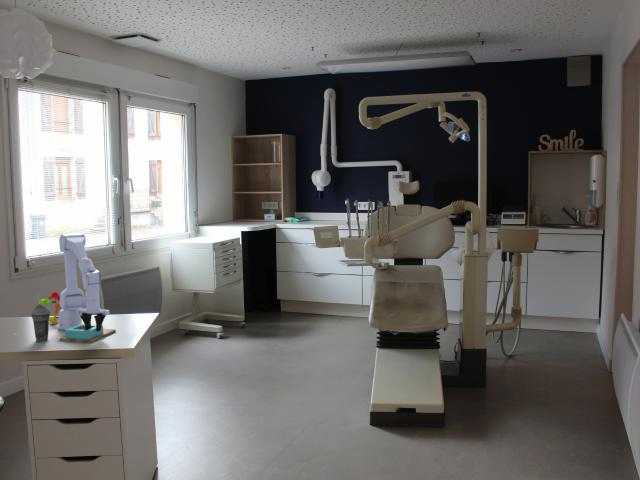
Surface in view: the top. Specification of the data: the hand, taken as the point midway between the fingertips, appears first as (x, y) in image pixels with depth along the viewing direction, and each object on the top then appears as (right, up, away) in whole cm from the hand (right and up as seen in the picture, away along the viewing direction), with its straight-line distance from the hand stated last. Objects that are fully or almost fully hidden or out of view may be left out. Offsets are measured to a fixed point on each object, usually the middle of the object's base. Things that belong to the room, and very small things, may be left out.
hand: (93, 330), depth 273 cm
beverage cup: (-21, -4, -3) cm, 22 cm away
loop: (-4, -2, +1) cm, 5 cm away
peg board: (-4, -3, +4) cm, 7 cm away
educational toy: (-29, 0, +32) cm, 43 cm away
